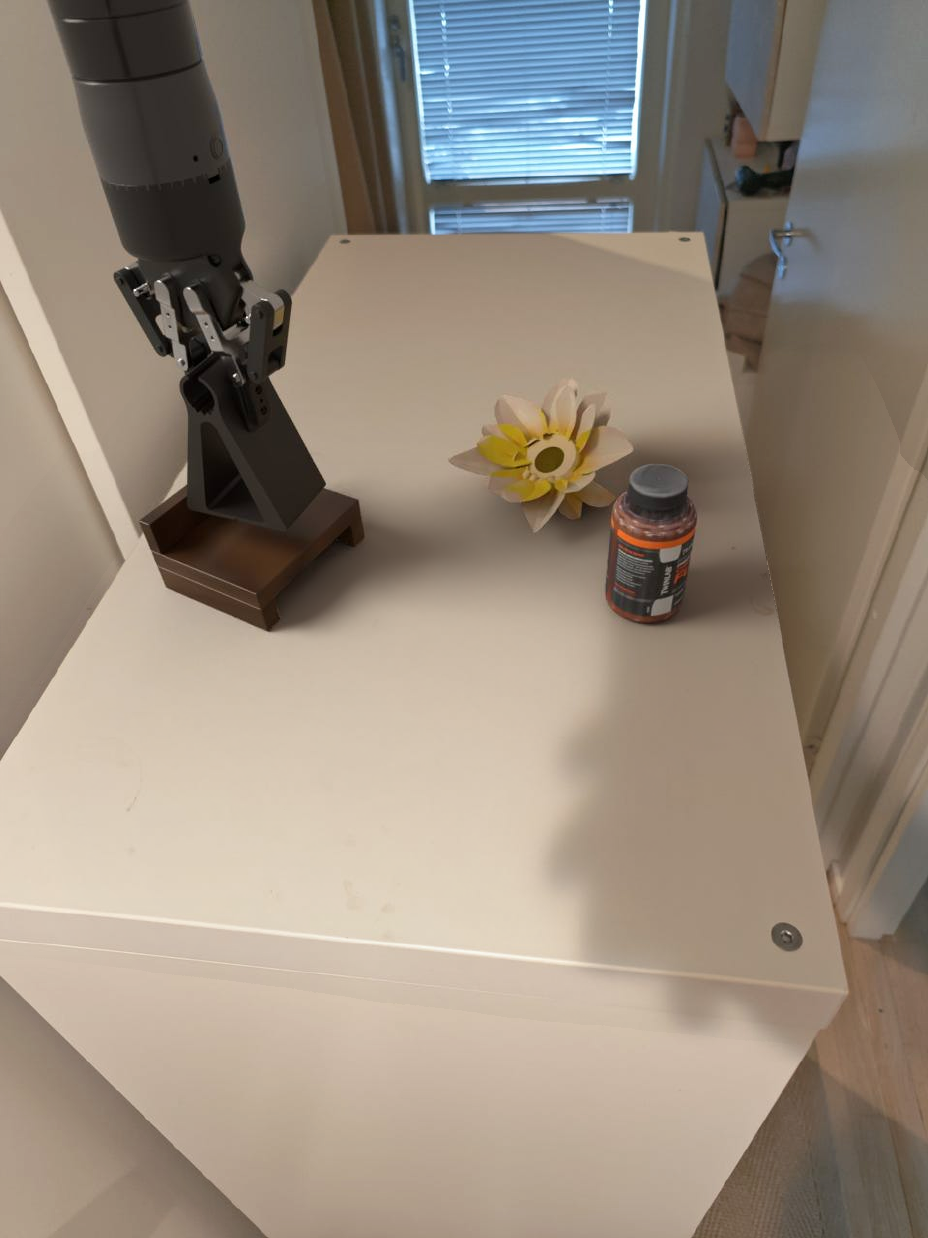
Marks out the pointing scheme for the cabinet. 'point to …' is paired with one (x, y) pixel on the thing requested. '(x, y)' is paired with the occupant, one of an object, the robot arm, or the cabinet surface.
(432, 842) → the cabinet surface
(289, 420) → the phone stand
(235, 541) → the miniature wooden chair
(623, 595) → the supplement bottle
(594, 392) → the decorative flower
